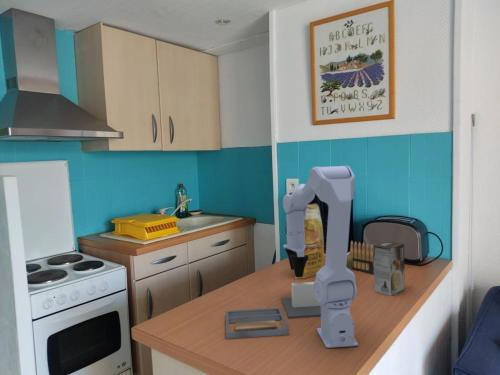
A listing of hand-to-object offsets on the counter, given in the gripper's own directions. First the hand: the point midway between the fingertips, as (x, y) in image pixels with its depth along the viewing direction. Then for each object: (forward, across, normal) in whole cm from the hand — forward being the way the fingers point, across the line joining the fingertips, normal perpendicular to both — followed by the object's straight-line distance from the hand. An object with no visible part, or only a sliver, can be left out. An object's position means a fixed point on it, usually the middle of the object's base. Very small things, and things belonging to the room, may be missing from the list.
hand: (296, 273), depth 114 cm
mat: (+9, +5, +2) cm, 11 cm away
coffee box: (+10, -4, +33) cm, 35 cm away
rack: (+9, +14, -15) cm, 23 cm away
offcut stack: (+10, +18, -15) cm, 26 cm away
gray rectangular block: (+9, +5, +2) cm, 10 cm away
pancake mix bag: (+10, -26, +10) cm, 29 cm away
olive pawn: (+10, -11, +20) cm, 25 cm away
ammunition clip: (+10, -26, +32) cm, 42 cm away
